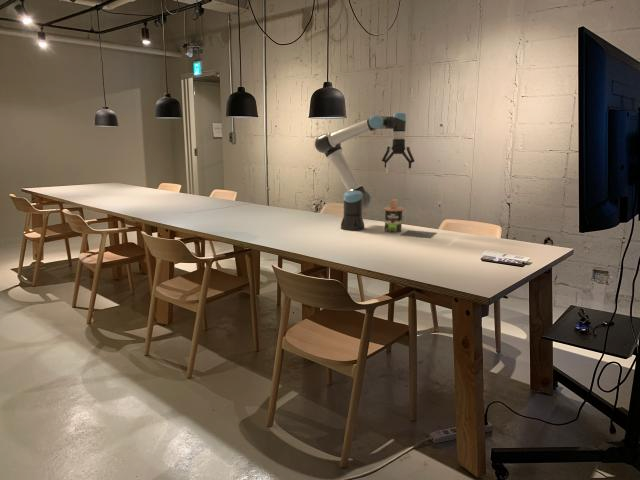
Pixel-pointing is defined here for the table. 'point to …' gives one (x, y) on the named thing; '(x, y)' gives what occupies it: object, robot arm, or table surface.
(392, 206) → the lid
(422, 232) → the mat
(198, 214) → the table surface
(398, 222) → the coffee can
